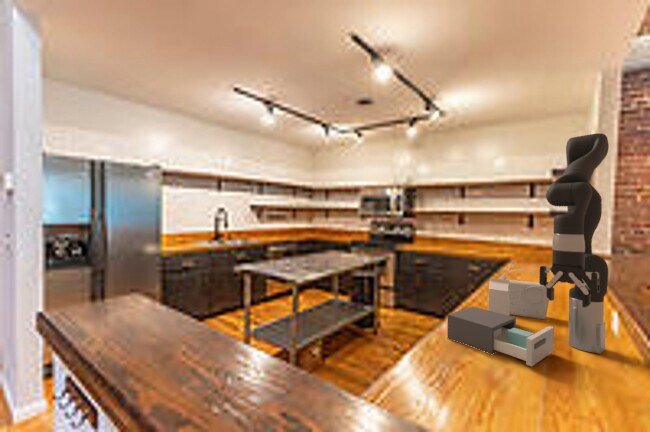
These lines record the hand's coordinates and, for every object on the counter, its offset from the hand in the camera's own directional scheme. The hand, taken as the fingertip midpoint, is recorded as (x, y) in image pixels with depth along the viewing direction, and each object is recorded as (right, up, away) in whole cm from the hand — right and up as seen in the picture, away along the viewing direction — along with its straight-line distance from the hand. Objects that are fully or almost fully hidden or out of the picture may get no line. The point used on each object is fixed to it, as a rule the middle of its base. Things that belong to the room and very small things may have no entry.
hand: (567, 303), depth 89 cm
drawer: (-8, -19, +11) cm, 24 cm away
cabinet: (-15, -20, +21) cm, 32 cm away
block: (-8, -18, +10) cm, 22 cm away
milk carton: (+3, -20, +39) cm, 44 cm away
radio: (+19, -21, +50) cm, 58 cm away
